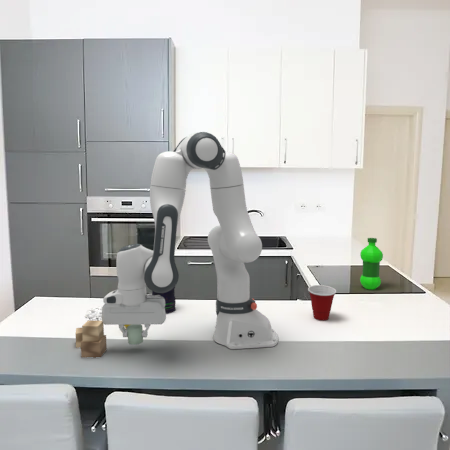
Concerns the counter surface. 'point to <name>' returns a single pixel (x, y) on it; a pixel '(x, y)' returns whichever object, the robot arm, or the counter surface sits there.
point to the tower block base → (93, 348)
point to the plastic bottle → (371, 265)
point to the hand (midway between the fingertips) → (135, 336)
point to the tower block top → (92, 331)
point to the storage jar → (168, 300)
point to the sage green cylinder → (135, 334)
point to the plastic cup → (321, 301)
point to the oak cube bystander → (78, 337)
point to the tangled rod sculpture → (97, 314)
